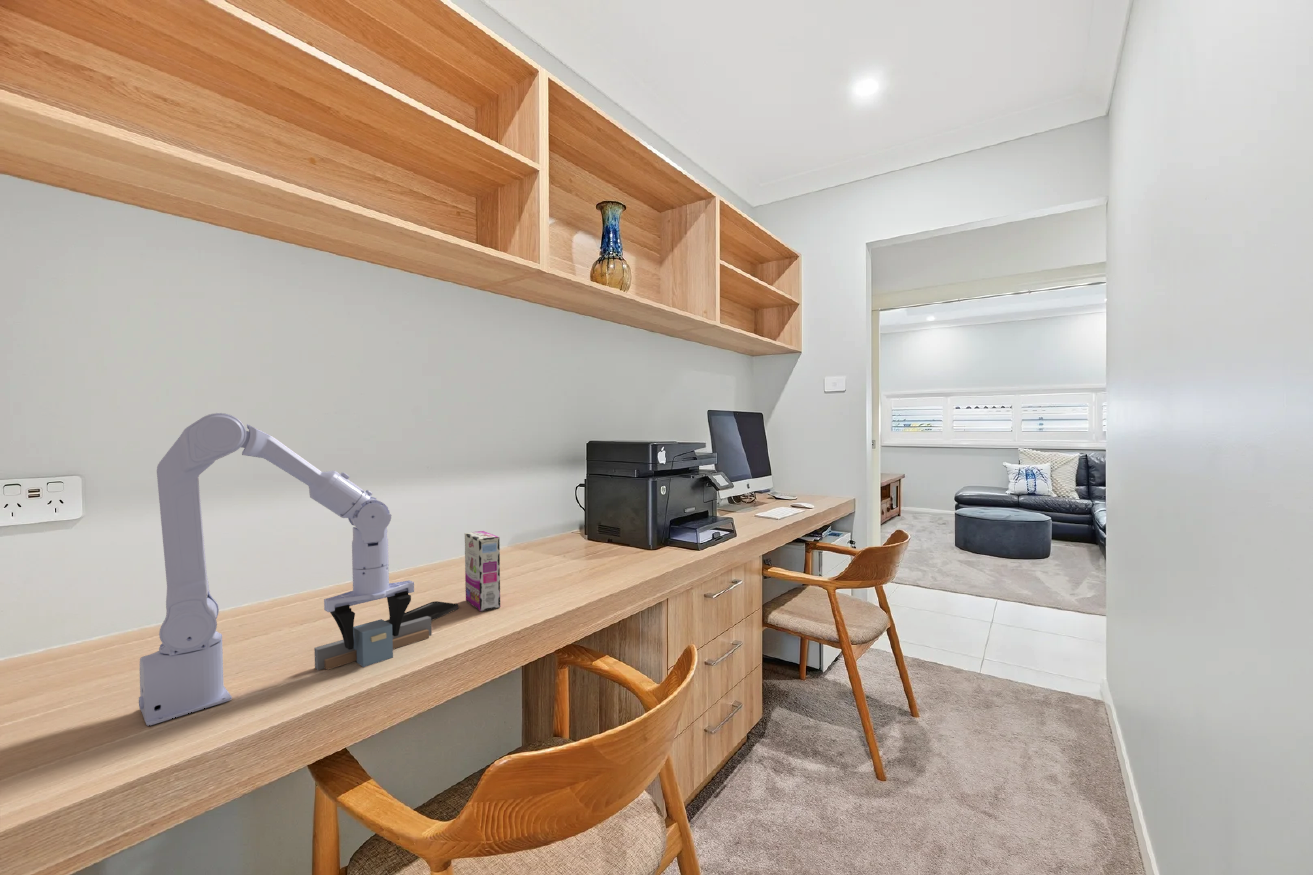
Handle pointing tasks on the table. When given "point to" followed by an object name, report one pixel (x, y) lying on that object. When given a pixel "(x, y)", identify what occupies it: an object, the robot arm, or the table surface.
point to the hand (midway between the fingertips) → (372, 641)
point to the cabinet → (373, 642)
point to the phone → (429, 611)
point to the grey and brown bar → (340, 655)
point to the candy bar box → (482, 570)
